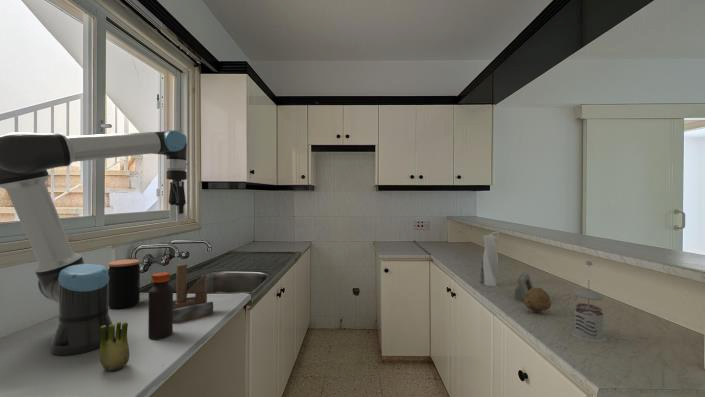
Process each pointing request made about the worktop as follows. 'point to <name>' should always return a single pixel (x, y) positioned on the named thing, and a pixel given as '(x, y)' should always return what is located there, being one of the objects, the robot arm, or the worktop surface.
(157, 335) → the bottle
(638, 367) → the worktop surface
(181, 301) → the brown upright wooden piece
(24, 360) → the worktop surface
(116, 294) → the coffee jar
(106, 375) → the worktop surface
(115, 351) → the fennel bulb
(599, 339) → the french press
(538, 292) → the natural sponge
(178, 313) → the metal-railed wooden board
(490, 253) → the skyscraper
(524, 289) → the digital clock
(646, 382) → the worktop surface
